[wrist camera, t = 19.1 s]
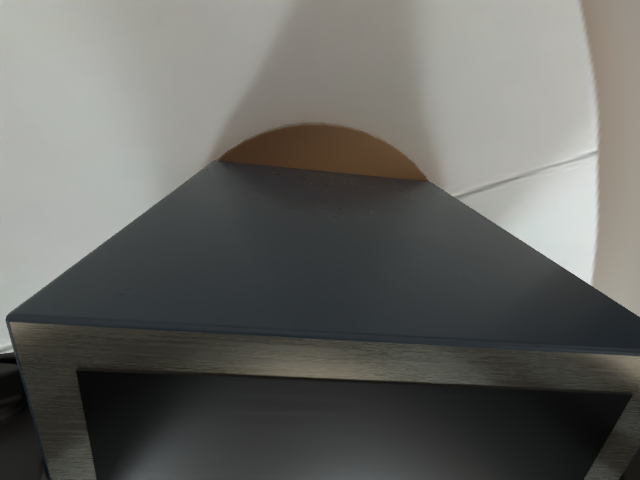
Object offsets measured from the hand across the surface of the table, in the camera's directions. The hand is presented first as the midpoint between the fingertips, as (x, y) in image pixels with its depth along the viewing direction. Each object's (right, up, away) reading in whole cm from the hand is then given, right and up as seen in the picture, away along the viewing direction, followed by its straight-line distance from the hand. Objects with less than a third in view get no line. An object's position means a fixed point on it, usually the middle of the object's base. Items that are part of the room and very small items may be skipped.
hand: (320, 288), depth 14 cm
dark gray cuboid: (-1, -6, 0) cm, 6 cm away
